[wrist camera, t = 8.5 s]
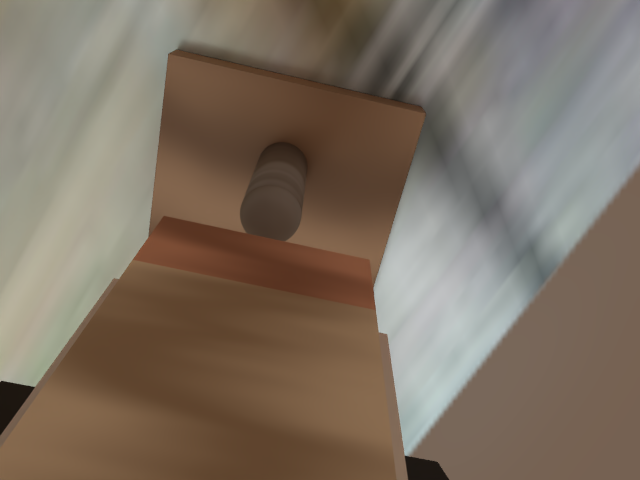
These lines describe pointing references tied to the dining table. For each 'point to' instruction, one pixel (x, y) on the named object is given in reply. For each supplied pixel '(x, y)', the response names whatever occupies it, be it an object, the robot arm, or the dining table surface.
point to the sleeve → (217, 370)
